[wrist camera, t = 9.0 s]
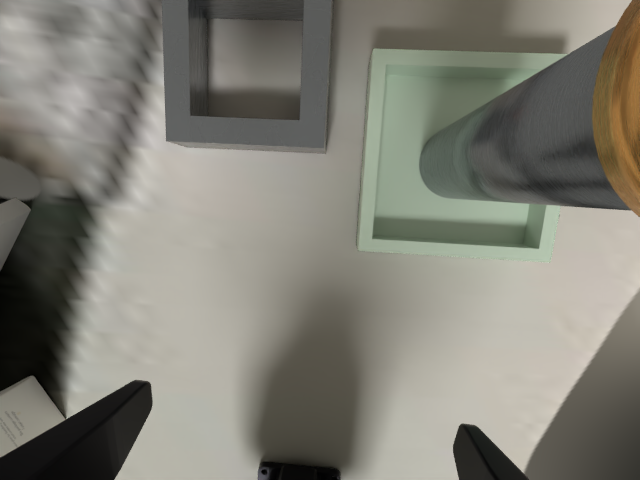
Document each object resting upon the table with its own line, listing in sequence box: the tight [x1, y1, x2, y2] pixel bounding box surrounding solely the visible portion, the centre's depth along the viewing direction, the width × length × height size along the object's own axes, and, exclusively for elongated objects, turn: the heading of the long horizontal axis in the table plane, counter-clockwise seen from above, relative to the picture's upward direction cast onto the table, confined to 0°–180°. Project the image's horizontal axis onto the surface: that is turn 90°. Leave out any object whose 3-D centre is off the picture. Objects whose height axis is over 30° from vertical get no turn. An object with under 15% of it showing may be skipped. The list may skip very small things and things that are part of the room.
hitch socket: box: [162, 0, 334, 153], centre depth 18 cm, size 10×10×2 cm
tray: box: [356, 49, 568, 263], centre depth 19 cm, size 12×12×2 cm
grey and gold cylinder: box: [419, 0, 640, 217], centre depth 12 cm, size 6×6×15 cm
